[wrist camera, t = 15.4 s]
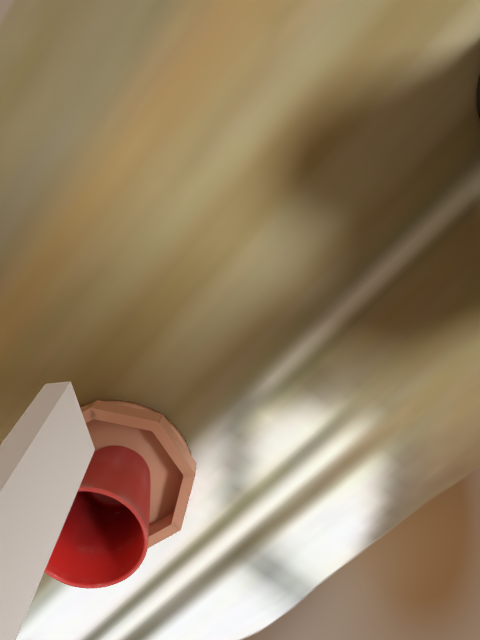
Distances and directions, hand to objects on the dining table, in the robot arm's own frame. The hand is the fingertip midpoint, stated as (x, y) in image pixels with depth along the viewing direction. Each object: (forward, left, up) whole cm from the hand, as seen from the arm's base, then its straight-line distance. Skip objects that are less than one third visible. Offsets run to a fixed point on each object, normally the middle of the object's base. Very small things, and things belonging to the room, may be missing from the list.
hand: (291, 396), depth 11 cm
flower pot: (+9, +24, -29) cm, 39 cm away
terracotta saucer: (+9, +25, -29) cm, 39 cm away
